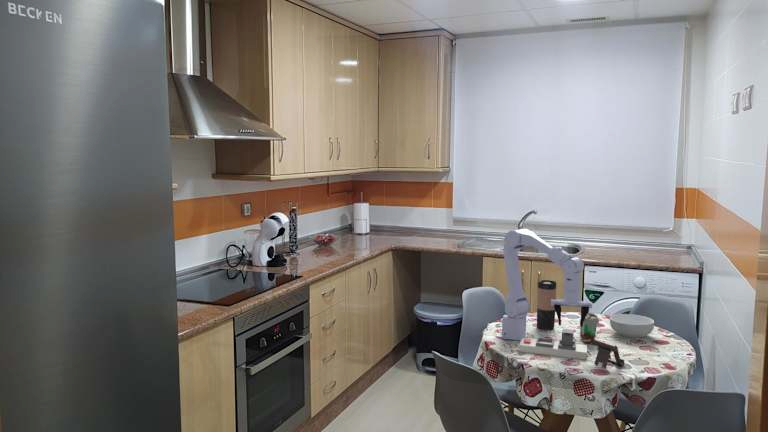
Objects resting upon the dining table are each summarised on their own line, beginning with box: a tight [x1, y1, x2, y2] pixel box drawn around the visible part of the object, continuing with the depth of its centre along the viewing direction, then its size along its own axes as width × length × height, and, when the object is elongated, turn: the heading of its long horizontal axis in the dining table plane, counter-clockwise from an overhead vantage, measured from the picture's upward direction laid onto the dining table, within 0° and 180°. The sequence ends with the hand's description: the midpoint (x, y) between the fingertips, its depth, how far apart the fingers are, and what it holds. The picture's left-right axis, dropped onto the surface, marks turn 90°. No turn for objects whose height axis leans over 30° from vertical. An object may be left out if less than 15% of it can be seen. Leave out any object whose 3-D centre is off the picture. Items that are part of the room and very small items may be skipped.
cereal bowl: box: [609, 313, 655, 339], centre depth 245 cm, size 17×17×7 cm
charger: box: [561, 328, 575, 347], centre depth 222 cm, size 4×5×6 cm
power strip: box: [518, 336, 588, 360], centre depth 224 cm, size 24×9×4 cm, turn 71°
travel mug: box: [536, 279, 557, 331], centre depth 253 cm, size 8×8×20 cm
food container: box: [579, 312, 600, 345], centre depth 238 cm, size 12×6×10 cm, turn 169°
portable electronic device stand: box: [592, 338, 625, 369], centre depth 211 cm, size 9×8×8 cm
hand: (570, 325), depth 223 cm, fingers open, 7 cm apart
